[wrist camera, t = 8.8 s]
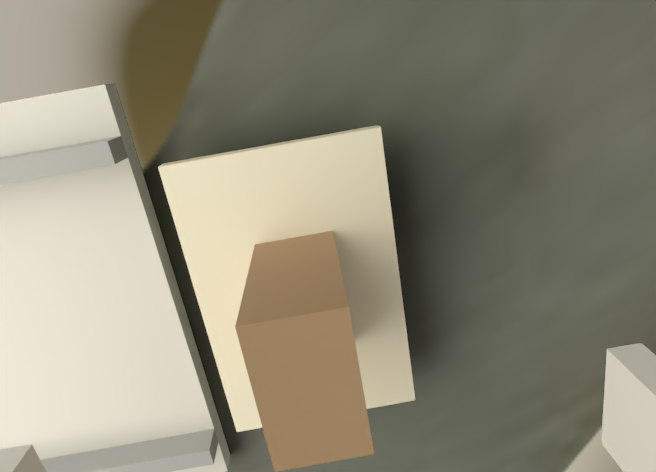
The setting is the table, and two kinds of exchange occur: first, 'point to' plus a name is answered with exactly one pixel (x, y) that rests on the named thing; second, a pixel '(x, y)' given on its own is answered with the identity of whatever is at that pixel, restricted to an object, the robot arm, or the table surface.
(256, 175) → the tabbed cream panel
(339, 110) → the table surface
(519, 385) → the table surface
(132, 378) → the ticket board
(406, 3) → the table surface
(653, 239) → the table surface
